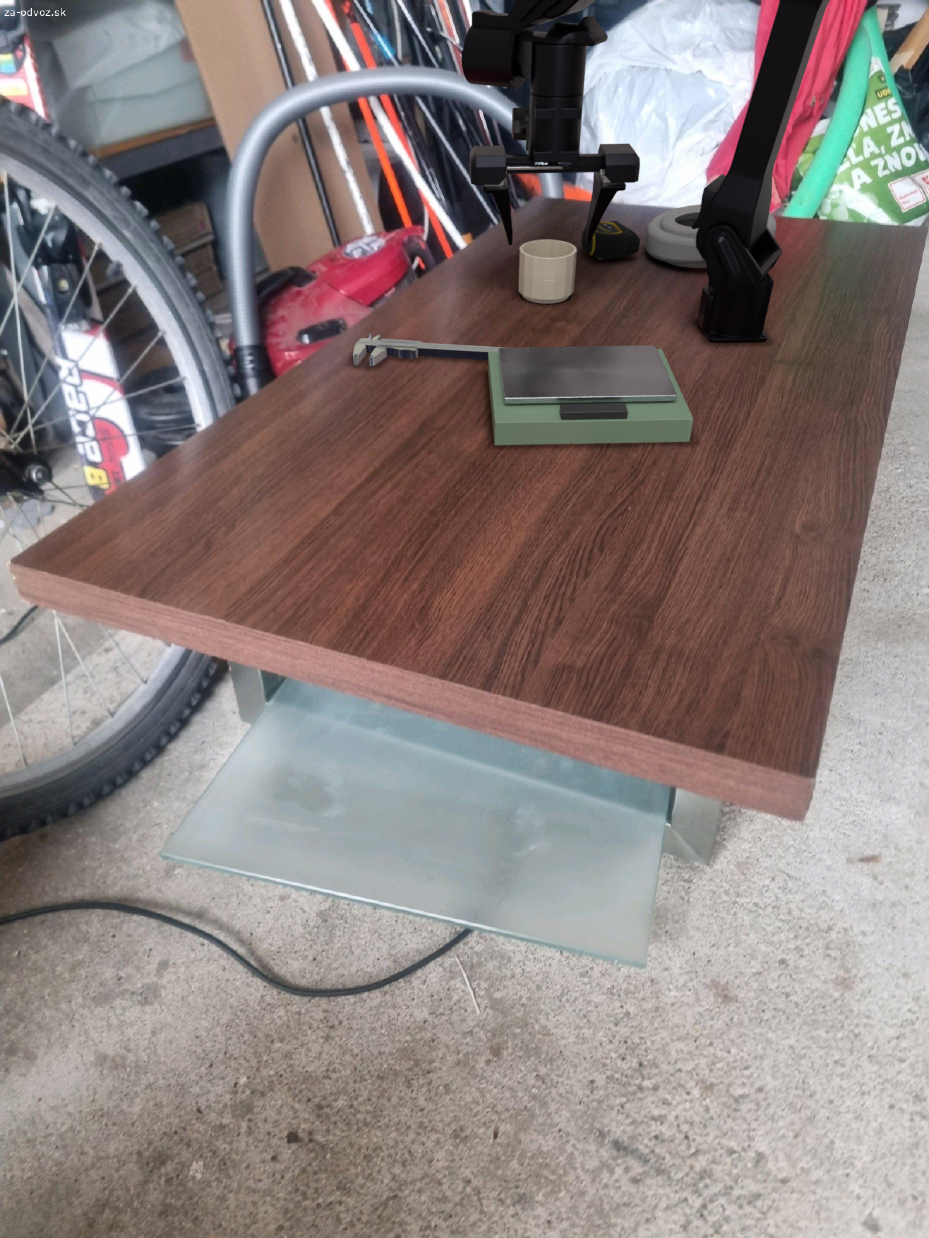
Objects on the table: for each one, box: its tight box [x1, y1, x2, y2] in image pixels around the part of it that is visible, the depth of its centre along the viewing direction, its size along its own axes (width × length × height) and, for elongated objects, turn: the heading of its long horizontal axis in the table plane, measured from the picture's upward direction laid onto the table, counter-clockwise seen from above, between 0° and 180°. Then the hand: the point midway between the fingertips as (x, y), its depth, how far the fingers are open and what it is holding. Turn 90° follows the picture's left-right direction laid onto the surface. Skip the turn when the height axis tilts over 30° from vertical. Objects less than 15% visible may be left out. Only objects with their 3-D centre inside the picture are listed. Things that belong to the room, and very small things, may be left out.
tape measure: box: [580, 220, 641, 261], centre depth 116 cm, size 7×7×4 cm
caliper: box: [352, 333, 506, 367], centre depth 94 cm, size 20×1×6 cm
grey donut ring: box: [645, 203, 777, 269], centre depth 114 cm, size 17×6×15 cm
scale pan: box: [498, 344, 677, 404], centre depth 84 cm, size 16×11×1 cm
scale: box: [487, 348, 694, 446], centre depth 84 cm, size 18×15×3 cm
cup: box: [517, 238, 578, 305], centre depth 105 cm, size 7×7×6 cm
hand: (548, 243), depth 103 cm, fingers open, 9 cm apart
